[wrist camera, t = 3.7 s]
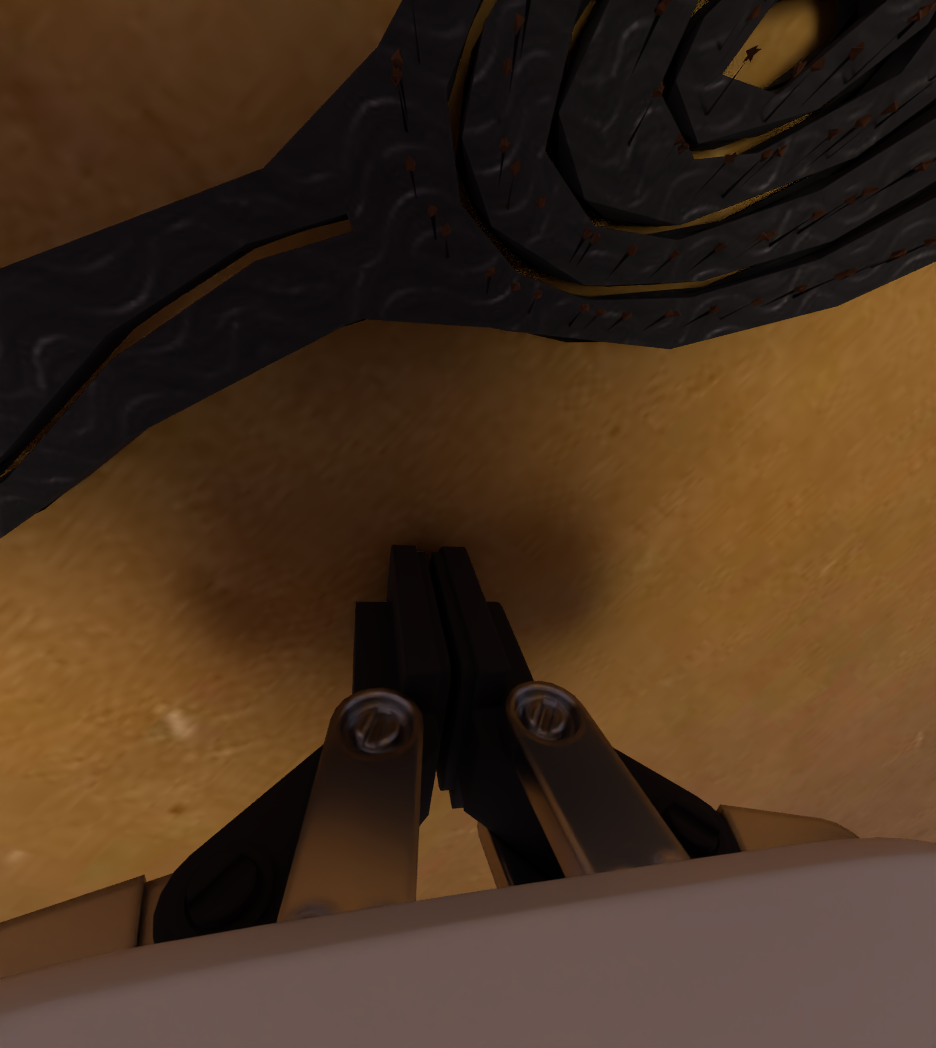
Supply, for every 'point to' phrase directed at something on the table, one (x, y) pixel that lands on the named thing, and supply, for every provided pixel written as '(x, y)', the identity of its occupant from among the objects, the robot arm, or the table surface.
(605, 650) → the table surface
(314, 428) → the table surface
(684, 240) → the hairbrush
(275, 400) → the table surface
